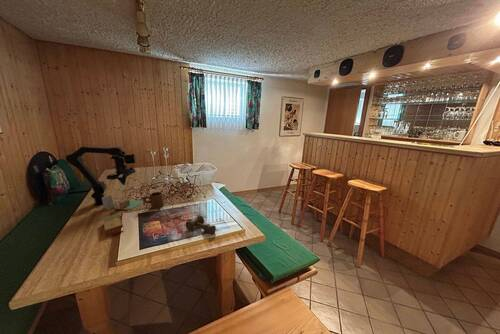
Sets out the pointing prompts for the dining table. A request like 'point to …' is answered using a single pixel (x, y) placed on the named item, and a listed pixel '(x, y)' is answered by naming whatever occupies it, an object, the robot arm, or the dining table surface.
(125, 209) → the batten
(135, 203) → the felt mat
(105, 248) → the dining table surface
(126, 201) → the walnut block
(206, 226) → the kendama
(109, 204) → the grey block
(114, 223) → the carton
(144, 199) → the mug
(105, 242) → the dining table surface
